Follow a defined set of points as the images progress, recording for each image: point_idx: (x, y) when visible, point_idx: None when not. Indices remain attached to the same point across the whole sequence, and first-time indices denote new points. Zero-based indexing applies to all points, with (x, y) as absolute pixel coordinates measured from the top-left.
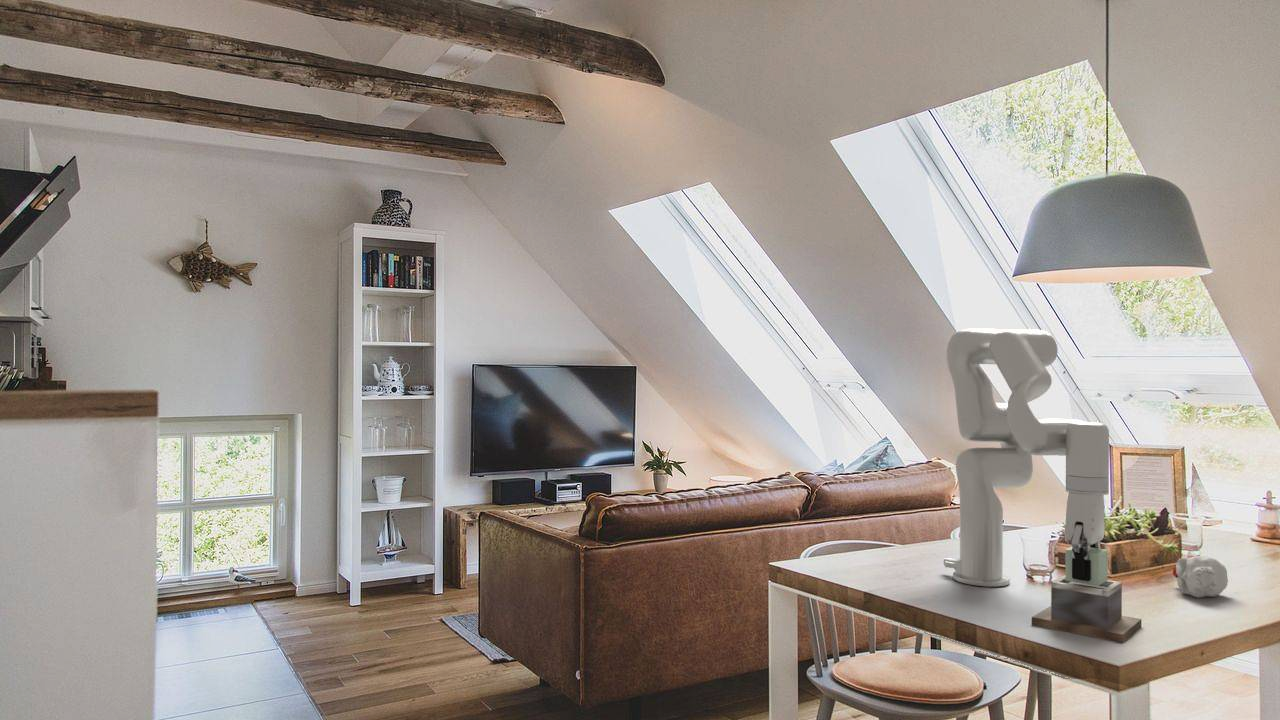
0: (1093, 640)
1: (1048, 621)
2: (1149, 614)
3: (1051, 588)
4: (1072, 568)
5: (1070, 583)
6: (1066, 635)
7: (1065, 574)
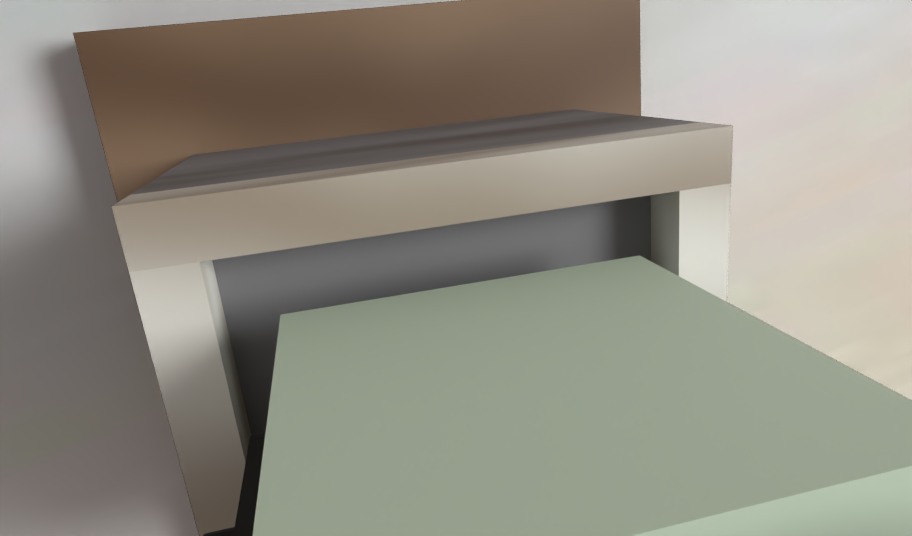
0: (119, 457)
1: (112, 167)
2: (890, 382)
3: (132, 194)
4: (236, 516)
5: (503, 244)
6: (64, 317)
7: (280, 344)
